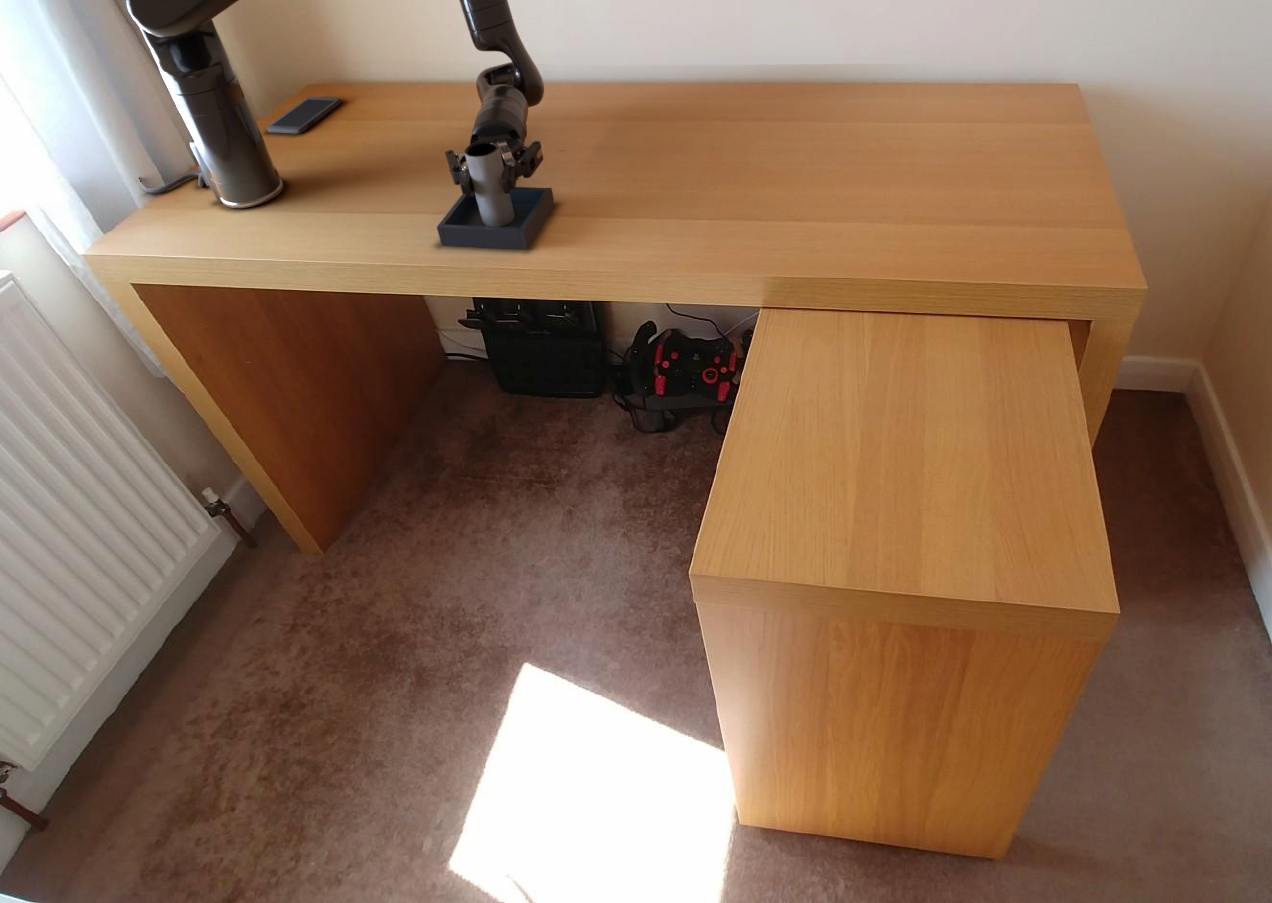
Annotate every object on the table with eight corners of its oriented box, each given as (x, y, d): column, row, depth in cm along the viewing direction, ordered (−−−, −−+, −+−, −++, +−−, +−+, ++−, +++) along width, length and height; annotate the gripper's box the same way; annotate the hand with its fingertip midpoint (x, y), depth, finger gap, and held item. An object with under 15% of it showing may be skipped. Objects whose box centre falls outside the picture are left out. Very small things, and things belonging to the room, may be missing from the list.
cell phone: (343, 101, 154) (342, 97, 153) (300, 134, 144) (298, 130, 144) (310, 100, 156) (309, 96, 155) (266, 132, 147) (264, 128, 146)
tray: (441, 245, 113) (436, 227, 111) (473, 203, 121) (469, 185, 119) (527, 249, 110) (523, 230, 108) (554, 206, 118) (551, 187, 116)
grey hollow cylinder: (521, 217, 114) (505, 146, 107) (494, 231, 112) (476, 159, 105) (502, 207, 117) (486, 137, 110) (476, 220, 115) (457, 149, 108)
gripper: (444, 112, 118) (425, 167, 106) (543, 101, 117) (535, 156, 105) (458, 161, 124) (441, 220, 112) (552, 151, 123) (545, 209, 111)
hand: (487, 188), depth 109 cm, fingers closed on grey hollow cylinder, 4 cm apart
